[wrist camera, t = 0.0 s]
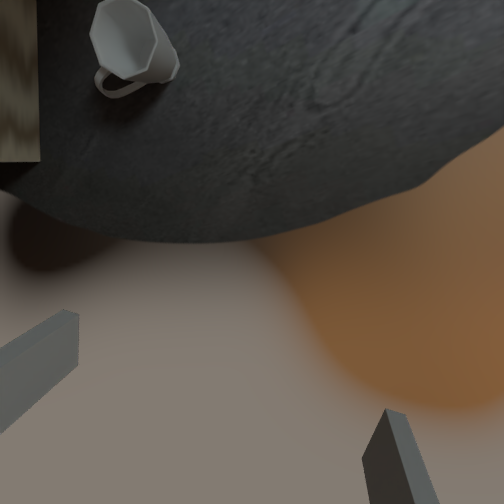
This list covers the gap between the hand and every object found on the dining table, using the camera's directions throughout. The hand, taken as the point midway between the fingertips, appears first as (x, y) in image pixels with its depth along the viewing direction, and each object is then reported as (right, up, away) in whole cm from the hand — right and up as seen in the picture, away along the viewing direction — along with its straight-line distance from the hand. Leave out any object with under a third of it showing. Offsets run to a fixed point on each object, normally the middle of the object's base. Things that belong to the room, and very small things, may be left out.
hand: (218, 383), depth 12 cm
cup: (-10, +27, +23) cm, 37 cm away
